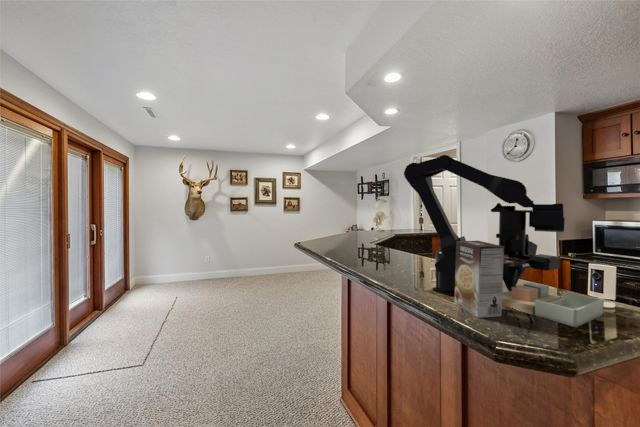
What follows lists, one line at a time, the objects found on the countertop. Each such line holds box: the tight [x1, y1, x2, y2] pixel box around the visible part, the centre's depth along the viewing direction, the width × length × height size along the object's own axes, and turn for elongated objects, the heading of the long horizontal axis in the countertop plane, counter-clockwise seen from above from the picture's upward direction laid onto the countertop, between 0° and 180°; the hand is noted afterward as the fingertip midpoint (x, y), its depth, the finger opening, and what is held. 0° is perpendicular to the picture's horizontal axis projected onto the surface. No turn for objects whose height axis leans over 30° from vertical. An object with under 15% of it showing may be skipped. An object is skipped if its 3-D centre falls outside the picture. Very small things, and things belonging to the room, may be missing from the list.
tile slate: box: [522, 281, 550, 298], centre depth 77 cm, size 4×4×2 cm
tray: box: [534, 290, 605, 328], centre depth 68 cm, size 8×14×4 cm, turn 120°
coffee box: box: [453, 240, 504, 319], centre depth 71 cm, size 9×6×16 cm
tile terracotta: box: [511, 284, 538, 302], centre depth 74 cm, size 4×4×2 cm
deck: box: [502, 290, 563, 315], centre depth 76 cm, size 9×14×2 cm, turn 120°
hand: (510, 290), depth 77 cm, fingers closed
